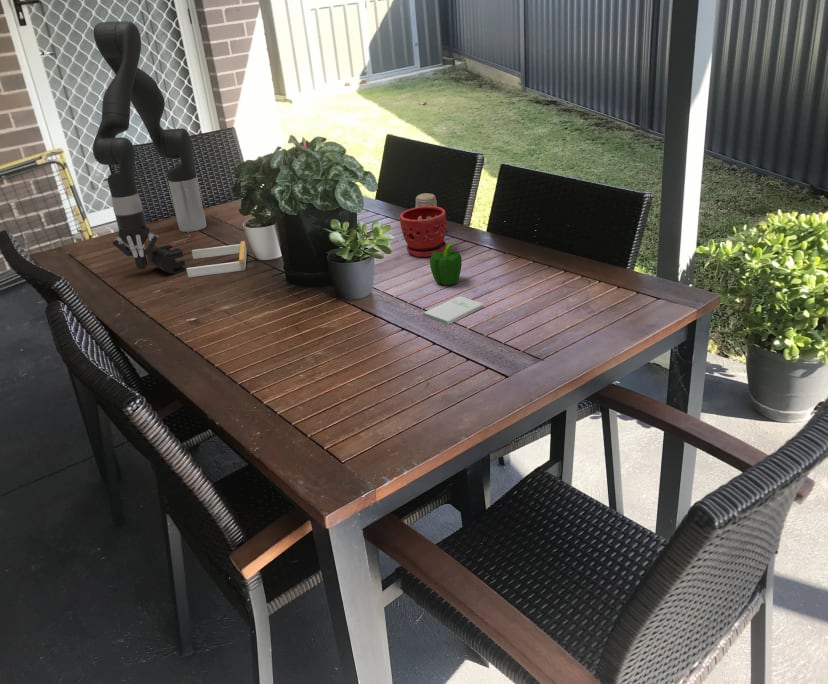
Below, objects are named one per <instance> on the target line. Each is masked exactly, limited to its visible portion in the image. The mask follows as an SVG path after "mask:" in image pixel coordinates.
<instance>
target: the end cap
mask: <svg viewBox="0 0 828 684" xmlns="http://www.w3.org/2000/svg"><path fill="white" fill-rule="evenodd" d="M182 257H184V254H183V251H182V249H180V248H174V246H173V245H171V244H166V245H163V246H156V245H154V246H153V248H152V250H151V251H150V253H149V254H147V255H146V260H147V263H149V265H152V266H154V267H155V268H158V269H160V270H161V271H164V272H165V273H167V274H170V275H175V274H178V273H181V272H184V271H187V268H186V267H184V266H186V263H185V259H182V260H180V261H177V260H176V259H178V258H182Z"/></svg>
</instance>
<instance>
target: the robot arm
mask: <svg viewBox="0 0 828 684" xmlns="http://www.w3.org/2000/svg"><path fill="white" fill-rule="evenodd" d="M93 39H94V43H95V46H96V47H97V49H98V51H99V53H100V54H101V56H102V58H103V60H104V61H105V62H106V63H107V64H108V67H109V68H111V71H113V73H114V74H115V76H114V78H113V79H112V81H110V83H109V85H108V86H107V88H106V90H105V92H104V94H103V98H102V108H101V121H100V123H99V126H98V130H97V132H96V134H95V137H94V140H93V143H92V144H93V145H92V154H93V157H94V159H95V160H96V162H98V163H99V164H100V165H103V166H104V165H105V166H108V165H119V171H117V172H114V173H111V174H109V175H108V176H107V184H108V187H109V192H110V197H111V202H112V204H111V205H112V208H113V209H112V210H113V213H114V216H115V220H116V224H117V228H118V233H117V235H118V236H117V237H116V238H114V239H113V240H112V245H113V246H115V247H116V248H117V249H118V250H119V251H120V252H122V253H123V254H125V255H126V256H127V257H133V258H134V261H135V265H136V267H137V269H138V268H139V269H138V270H145V269H146V268H147V266H148V260H147V254H149V253H150V251H151V250H152V248H153V246H155V245H156V242H157V241H158V239H159V234H158V233H153V232H152V231H150V228H149V227H148V226H147V221H146V219H145V213H144V209H143V204H142V200H141V198H140V195H139V192H138V187H137V184H136V178H135V167H136V166H135V165H136V163H135V161H136V150H135V146H134V145H133V143H132V142H131V140H130V139H129V138H127V137H123V136H121V137H116V136H118V135H119V134H122V133H125V132H126V131H128V130H129V128H130V121H131V120H130V119H131V117H130V115H131V104H132V107H134V109H135V111H136V112H137V114H138V115H139V117H140V119H141V121H142V123H143V125H144V127H145V128H146V130H147V133H148V135H149V138H150V140H151V142H152V144H153V146H154V149H155V150H156V152H157V155H159V156H160V158H162V159H168V160H169V159H180V164H178V165H176V166H175V167H173V168H171V169H168V170H167V172H166V177H167V180H168V185H169V189H170V194H171V199H172V203H173V207H174V211H175V217H176V221H177V225H178V229H179V231H180V232H184V233H185V232H186V233H190V232H196V231H200V230H203V229H205V228H206V227H208V226H207V220H206V215H205V210H204V205H203V201H202V195H201V191H200V187H199V182H198V177H197V171H196V164H195V160H194V159H195V158H194V152H193V145H192V140H191V136H190V134H189V131H188V130H187V129H186V128H170V129H169V128H167V129H164V128H163V127H162V126H161V120H162V117H163V114H164V111H165V107H166V105H165V104H166V102H165V101H166V99H165V98H164V95H163V93H162V91H161V89H160V88H159V85H158V84H157V82H156V81H155V80H154V79H153V77H152V76H151V75H149V74H148V73H147V72H145V71H144V70H143V69H141V68H139V67H138V66H139V63H140V61H139V60H140V56H141V53H142V52H141V51H142V37H141V33H140V29H139V28H138V26H137V25H136V24H135V23H134V22H131V21H126V20H125V21H123V20H121V21H117V20H116V21H102V22H98V23H96V24H95V26H94V27H93ZM147 239H148V240H149V244H148V246H147V247H146V248H145V242H146V241H147ZM127 245H128V246H129V247H128V246H127Z"/></svg>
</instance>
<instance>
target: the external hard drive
mask: <svg viewBox="0 0 828 684" xmlns="http://www.w3.org/2000/svg"><path fill="white" fill-rule="evenodd" d="M483 308H484V303H482V302H480V301H476V300H473V299H470V298H467V297H465V296H460V295H459V296H456V297H454V298H452V299H450V300H448V301H446V302H443V303H441V304H440V305H439V304H438V305H437V306H434V307H433V308H430V309H428V310H426V311H424V312H423V313H422V316H423V317H425V318H427V319H430V320H432V321H436V322H439V323H441V324H443V325H447V326H449V325H451V324H453V323H455V322H457V321H459V320H461V319H462V318H465V317H467V316H469V315H471V314H472V313H473V314H474V313H475V312H477V311H479V310H482V309H483Z"/></svg>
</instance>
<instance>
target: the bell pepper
mask: <svg viewBox="0 0 828 684" xmlns="http://www.w3.org/2000/svg"><path fill="white" fill-rule="evenodd" d="M454 246H455V244H454V243H449V244H446V248H445V249H444V250H443V251H442V252H441V253H440V252H433V254H432V256H430V259H429V266H430V267H429V268H430V270H431V274H432V277H433V279H434V281H435V283H436V284H439V285H445V286H452V285H455V284H457V282H458V281H459V279H460V276H461V270H462V265H463V262H462V260H463V259H462V256H461V253H460V251H459V250H452V249H450V248H454Z"/></svg>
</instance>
